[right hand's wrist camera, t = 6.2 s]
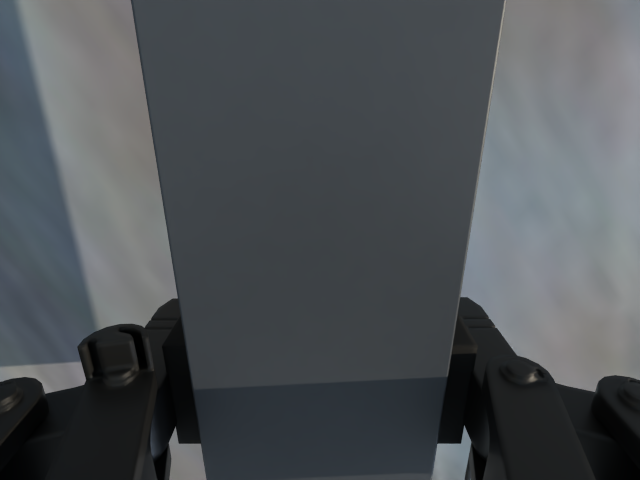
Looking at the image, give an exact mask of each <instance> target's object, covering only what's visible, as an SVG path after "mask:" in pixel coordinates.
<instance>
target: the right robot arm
mask: <svg viewBox="0 0 640 480" xmlns="http://www.w3.org/2000/svg"><path fill="white" fill-rule="evenodd" d="M78 351H79V355H80V359H81V362H82V366H83V370H84V373H85V377H86V382H85V384H84V385H82V386H78V387H75V388H70V389H66V390H61V391H56V392H52V393H47V394H45V392H44V389H43V386H42V383H41V382H39V381H38V380H37V379H35V378H28V377H22V378H15V379H9V380H5V381H3V382H0V480H169V476H170V467H171V454H170V448H169V441H170V438H171V436H172V434H173V431H174V429H175V427H176V430H177V436H178V442H179V444H201V441H200V434H199V428H198V422H197V415H196V409H195V403H194V396H193V390H192V384H191V377H190V371H189V365H188V358H187V352H186V346H185V339H184V333H183V327H182V320H181V314H180V308H179V301H178V299H171V300H170V301H168V302H167V303H165V304H164V305H162V306H161V307H159V309H158V310H157V311H156V313H155V314H154V315H153V317H152V318H151V321H149V322H148V324H147V325H146V326H145V328H144V327H142V326H140V325H135V324H119V325H114V326H110V327H106V328H104V329H101V330H99V331H96V332H94V333H92V334H91V335H89V336H88V337H86V338H85V339H84V340H83V341H82V342H81V343H80V344H79V346H78ZM464 425H465V428H466V430H467V432H468V435H469V437H470V439H471V448H470V453H469V458H468V464H467V469H466V474H465V480H470V478H471V480H640V380H636V379H634V378H630V377H624V376H616V375H614V376H607V377H604V378H602V379H601V380H600V381H599V382H598V385H597V388H596V391H595V392H592V391H587V390H582V389H578V388H573V387H568V386H564V385H560V384H557V383H555V381H554V379H553V378H552V376H551V375H550V374H549V372H548V371H547V370H545V369H544V368H543V367H542V366H540V365H539V364H537V363H535V362H533V361H531V360H529V359H527V358H523V357H519V356H517V355H516V354H515V352H514V351H513V350H512V348H511V347H510V345H509V344H508V343H507V341H506V340H505V339H504V337H503V336H502V335H501V333H500V332H499V330H498V329H497V328H495V325H494V324H493V322H492V321H491V320H490V319H489V317H488V315H487V314H486V313H485V311H484V310H483V309H482V307H481V306H479V305H478V304H476V303H475V302H473V301H472V300H470V299H469V298H467V297H460V301H459V308H458V314H457V320H456V327H455V333H454V340H453V346H452V352H451V359H450V365H449V372H448V378H447V384H446V391H445V397H444V404H443V410H442V417H441V423H440V429H439V436H438V442H437V443H449V444H461V440H462V434H463V429H464Z"/></svg>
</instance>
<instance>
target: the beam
mask: <svg viewBox="0 0 640 480" xmlns="http://www.w3.org/2000/svg"><path fill="white" fill-rule="evenodd" d="M131 4H132V10H133V16H134V23H135V29H136V35H137V42H138V48H139V54H140V61H141V67H142V73H143V80H144V86H145V92H146V99H147V105H148V111H149V118H150V124H151V130H152V137H153V143H154V149H155V156H156V162H157V168H158V175H159V181H160V187H161V194H162V200H163V206H164V213H165V219H166V225H167V232H168V238H169V244H170V251H171V257H172V263H173V270H174V276H175V282H176V289H177V295H178V301H179V308H180V314H181V320H182V327H183V333H184V339H185V346H186V352H187V358H188V365H189V371H190V377H191V384H192V390H193V396H194V403H195V409H196V415H197V422H198V428H199V434H200V441H201V447H202V453H203V460H204V466H205V472H206V479H207V480H432V474H433V468H434V461H435V455H436V449H437V442H438V436H439V429H440V423H441V417H442V410H443V404H444V397H445V391H446V384H447V378H448V372H449V365H450V359H451V352H452V346H453V340H454V333H455V327H456V320H457V314H458V308H459V301H460V295H461V288H462V282H463V275H464V269H465V263H466V256H467V250H468V243H469V237H470V231H471V224H472V218H473V211H474V205H475V199H476V192H477V186H478V179H479V173H480V167H481V160H482V154H483V147H484V141H485V134H486V128H487V122H488V115H489V109H490V102H491V96H492V90H493V83H494V77H495V70H496V64H497V58H498V51H499V45H500V38H501V32H502V25H503V19H504V13H505V6H506V0H131Z"/></svg>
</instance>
